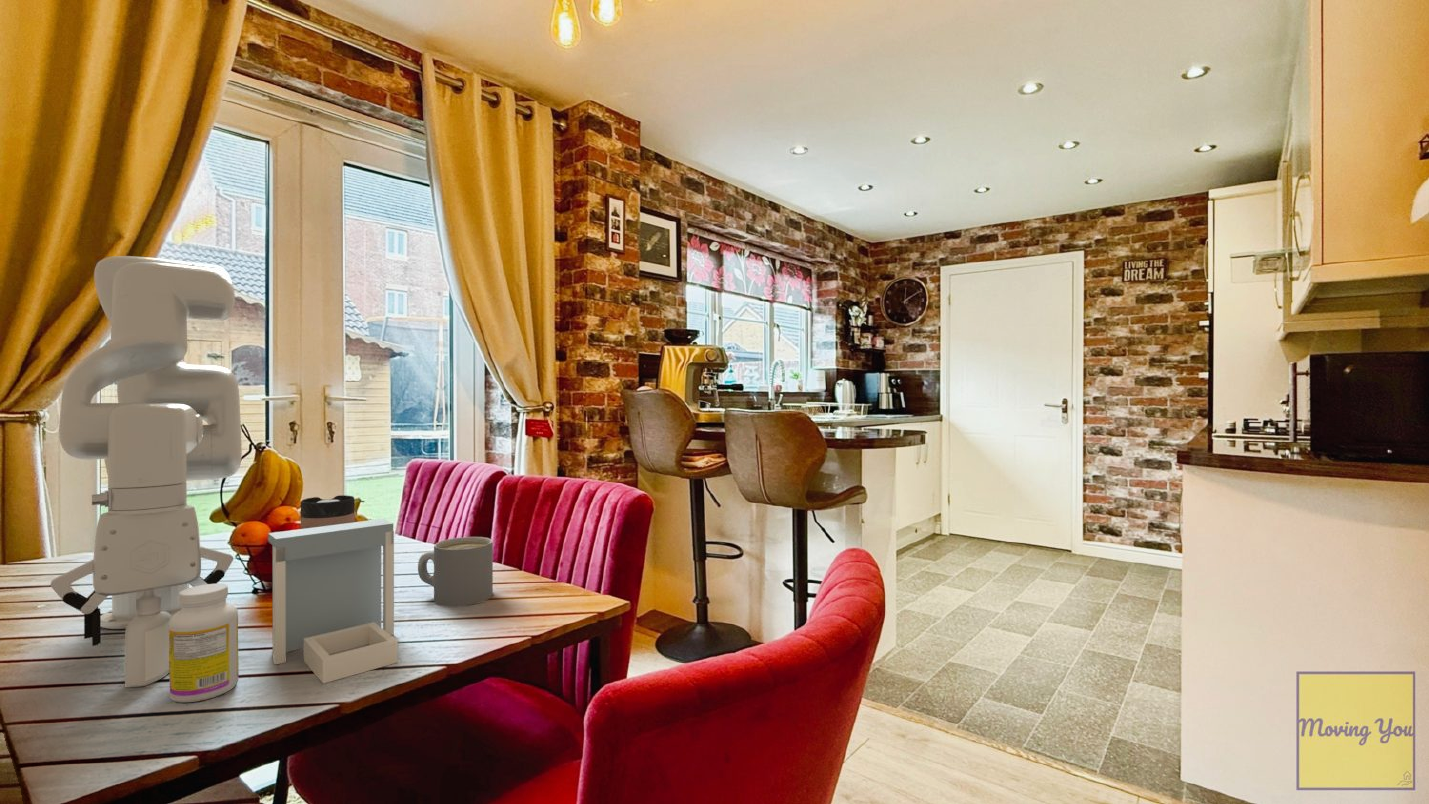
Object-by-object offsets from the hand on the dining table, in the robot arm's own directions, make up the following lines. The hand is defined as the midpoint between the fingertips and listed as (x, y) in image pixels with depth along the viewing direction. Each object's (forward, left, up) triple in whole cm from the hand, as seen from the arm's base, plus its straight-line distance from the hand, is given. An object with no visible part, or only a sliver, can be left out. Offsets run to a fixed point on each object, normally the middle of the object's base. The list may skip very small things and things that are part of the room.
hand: (148, 632), depth 80 cm
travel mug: (-8, +22, -6) cm, 24 cm away
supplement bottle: (+9, +5, -7) cm, 12 cm away
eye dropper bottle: (-1, 0, -7) cm, 6 cm away
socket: (+12, +20, -6) cm, 24 cm away
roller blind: (+3, +20, -6) cm, 21 cm away
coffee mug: (-6, +42, -7) cm, 43 cm away
